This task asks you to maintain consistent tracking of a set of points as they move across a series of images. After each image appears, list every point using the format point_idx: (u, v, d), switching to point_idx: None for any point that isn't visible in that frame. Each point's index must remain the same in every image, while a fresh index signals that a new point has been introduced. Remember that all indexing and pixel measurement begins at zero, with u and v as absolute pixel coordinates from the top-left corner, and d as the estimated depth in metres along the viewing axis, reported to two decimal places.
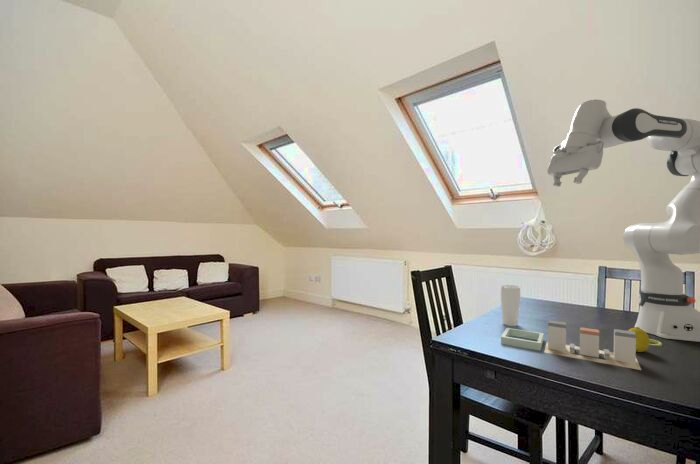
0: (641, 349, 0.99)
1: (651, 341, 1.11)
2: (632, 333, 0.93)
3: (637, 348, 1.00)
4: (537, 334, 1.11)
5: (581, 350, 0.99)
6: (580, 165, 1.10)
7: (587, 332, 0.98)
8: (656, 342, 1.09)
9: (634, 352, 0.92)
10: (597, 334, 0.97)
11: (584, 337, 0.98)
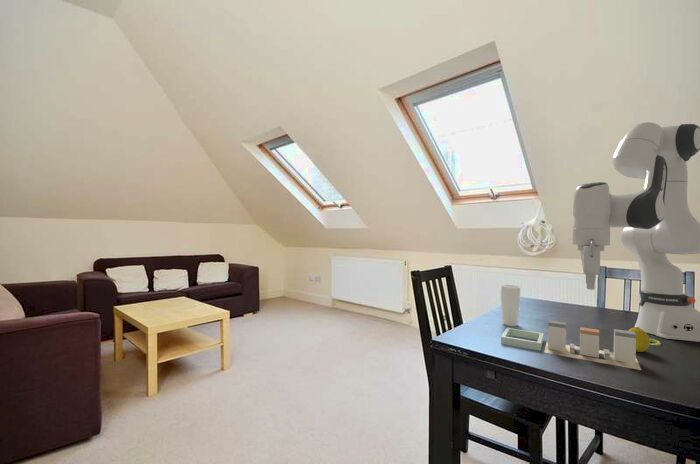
0: (641, 349, 0.99)
1: (649, 340, 1.11)
2: (632, 333, 0.93)
3: (637, 348, 1.00)
4: (537, 334, 1.11)
5: (581, 350, 0.99)
6: None
7: (587, 332, 0.98)
8: (654, 341, 1.10)
9: (634, 352, 0.92)
10: (597, 334, 0.97)
11: (584, 337, 0.98)
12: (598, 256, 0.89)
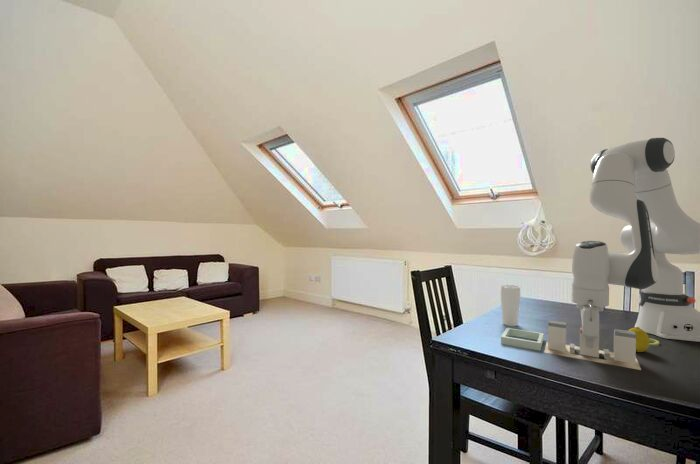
0: (641, 349, 0.99)
1: None
2: (632, 333, 0.93)
3: (637, 348, 1.00)
4: (537, 334, 1.11)
5: (581, 350, 0.99)
6: None
7: None
8: (653, 341, 1.11)
9: (634, 352, 0.92)
10: None
11: (584, 337, 0.98)
12: (597, 320, 0.90)
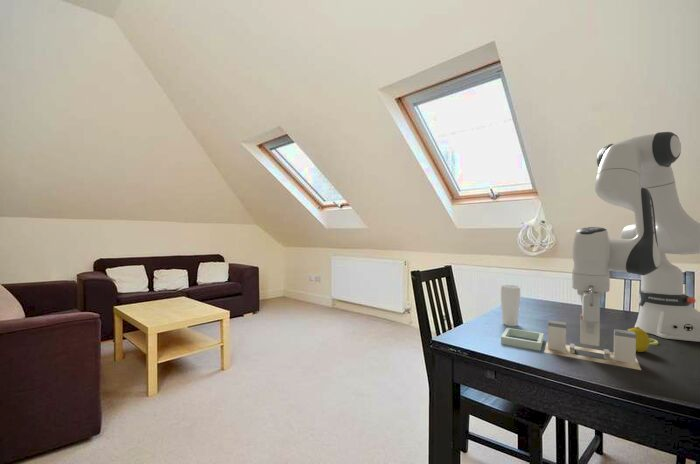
0: (641, 349, 0.99)
1: None
2: (632, 333, 0.93)
3: (637, 348, 1.00)
4: (537, 334, 1.11)
5: (582, 336, 0.99)
6: None
7: None
8: (652, 340, 1.11)
9: (634, 352, 0.92)
10: None
11: (584, 323, 0.98)
12: (598, 305, 0.90)
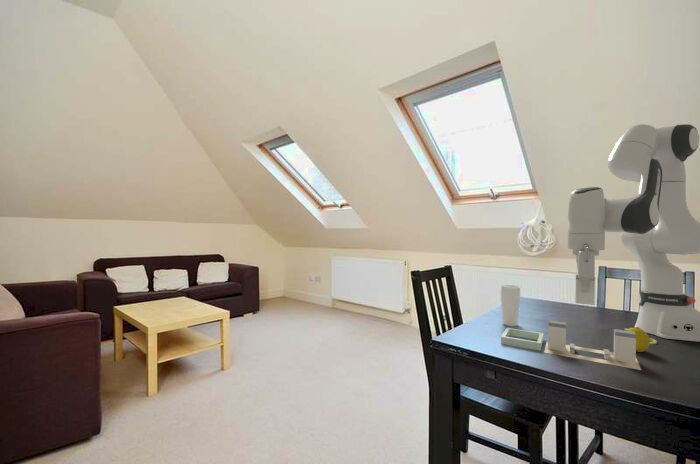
0: (641, 349, 0.99)
1: None
2: (632, 333, 0.93)
3: (637, 348, 1.00)
4: (537, 334, 1.11)
5: (577, 296, 0.99)
6: None
7: None
8: (650, 340, 1.12)
9: (634, 352, 0.92)
10: (593, 279, 0.97)
11: (579, 283, 0.98)
12: (593, 261, 0.90)
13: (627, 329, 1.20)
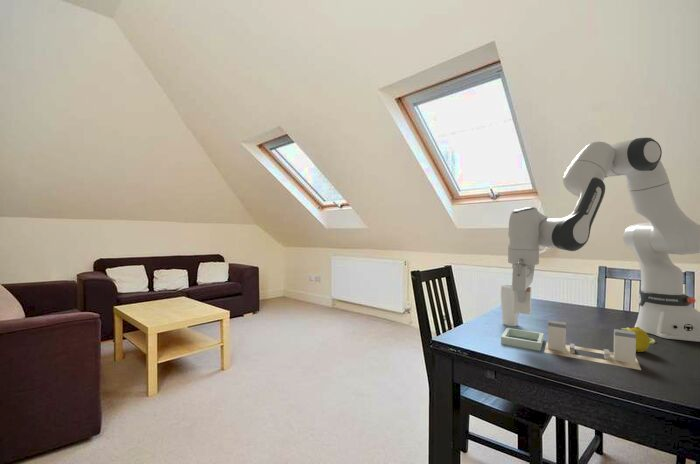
0: (641, 349, 0.99)
1: None
2: (632, 333, 0.93)
3: (637, 348, 1.00)
4: (537, 334, 1.11)
5: (515, 306, 1.09)
6: None
7: None
8: None
9: (634, 352, 0.92)
10: (528, 290, 1.07)
11: (517, 294, 1.09)
12: (524, 275, 1.00)
13: (624, 329, 1.21)
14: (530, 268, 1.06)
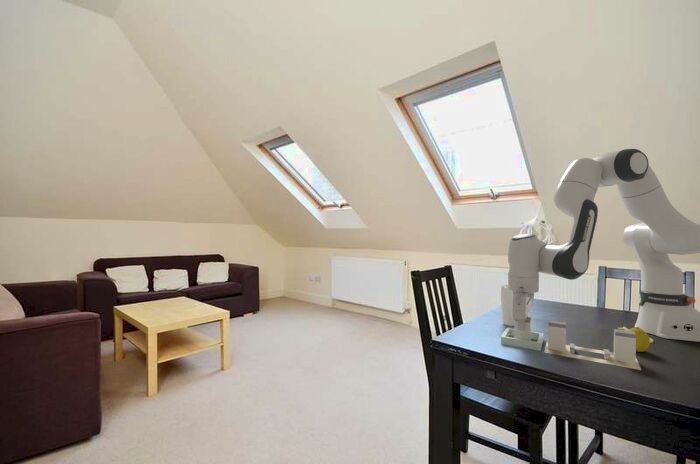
0: (641, 349, 0.99)
1: None
2: (632, 333, 0.93)
3: (637, 348, 1.00)
4: (537, 334, 1.11)
5: (515, 336, 1.09)
6: None
7: None
8: None
9: (634, 352, 0.92)
10: (528, 321, 1.07)
11: (517, 324, 1.09)
12: (524, 304, 1.00)
13: (621, 328, 1.21)
14: (530, 295, 1.06)
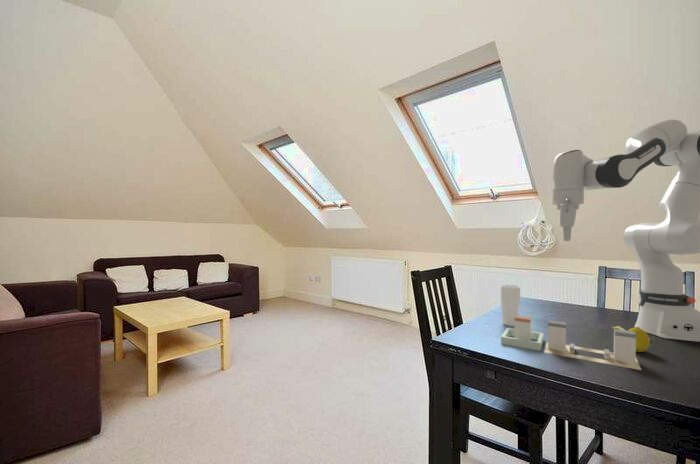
0: (641, 349, 0.99)
1: None
2: (632, 333, 0.93)
3: (637, 348, 1.00)
4: (537, 334, 1.11)
5: (515, 336, 1.09)
6: None
7: (520, 319, 1.08)
8: None
9: (634, 352, 0.92)
10: (528, 321, 1.07)
11: (517, 324, 1.09)
12: (572, 211, 1.06)
13: (615, 327, 1.22)
14: (575, 207, 1.11)
